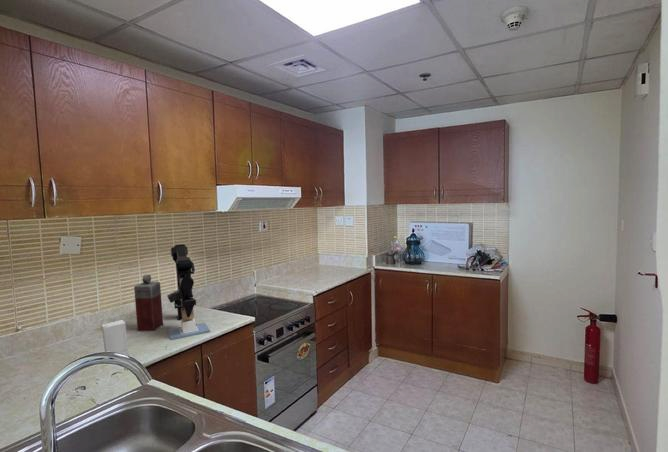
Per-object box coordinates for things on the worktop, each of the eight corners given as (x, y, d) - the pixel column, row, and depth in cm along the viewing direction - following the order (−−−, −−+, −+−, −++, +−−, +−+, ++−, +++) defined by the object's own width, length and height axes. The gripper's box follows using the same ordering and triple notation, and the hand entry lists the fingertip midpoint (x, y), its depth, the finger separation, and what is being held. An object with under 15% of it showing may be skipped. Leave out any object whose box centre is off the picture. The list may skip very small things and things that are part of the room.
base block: (181, 329, 186) (180, 319, 186) (193, 326, 189) (193, 317, 189) (183, 332, 181) (182, 322, 181) (196, 330, 184) (195, 320, 184)
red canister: (143, 324, 198) (139, 273, 196) (163, 324, 197) (159, 272, 195) (133, 330, 189) (128, 276, 187) (154, 330, 188) (150, 276, 186)
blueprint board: (167, 331, 187) (167, 329, 187) (204, 324, 196) (204, 321, 196) (170, 340, 175) (170, 337, 175) (210, 332, 183) (210, 329, 183)
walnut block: (181, 317, 186) (181, 308, 185) (192, 315, 188) (191, 306, 188) (183, 320, 181) (182, 310, 181) (193, 318, 184) (193, 308, 183)
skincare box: (126, 351, 163) (123, 318, 162) (129, 356, 158) (126, 322, 157) (104, 357, 157) (101, 323, 156) (106, 362, 153) (103, 327, 152)
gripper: (165, 283, 187) (168, 313, 189) (169, 291, 171) (172, 324, 172) (189, 280, 193) (191, 309, 194) (195, 287, 177) (197, 319, 178)
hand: (187, 315), depth 185 cm, fingers closed on walnut block, 5 cm apart
